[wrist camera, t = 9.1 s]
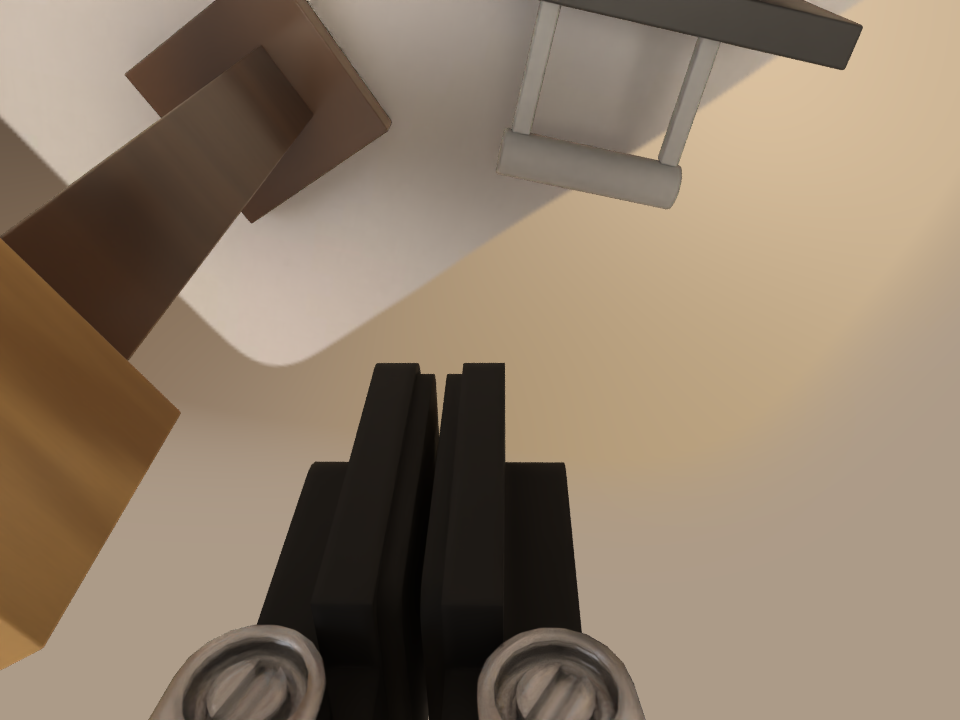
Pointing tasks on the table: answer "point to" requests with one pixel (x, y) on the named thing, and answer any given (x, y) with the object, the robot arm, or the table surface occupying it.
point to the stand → (200, 160)
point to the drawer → (713, 19)
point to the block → (61, 451)
